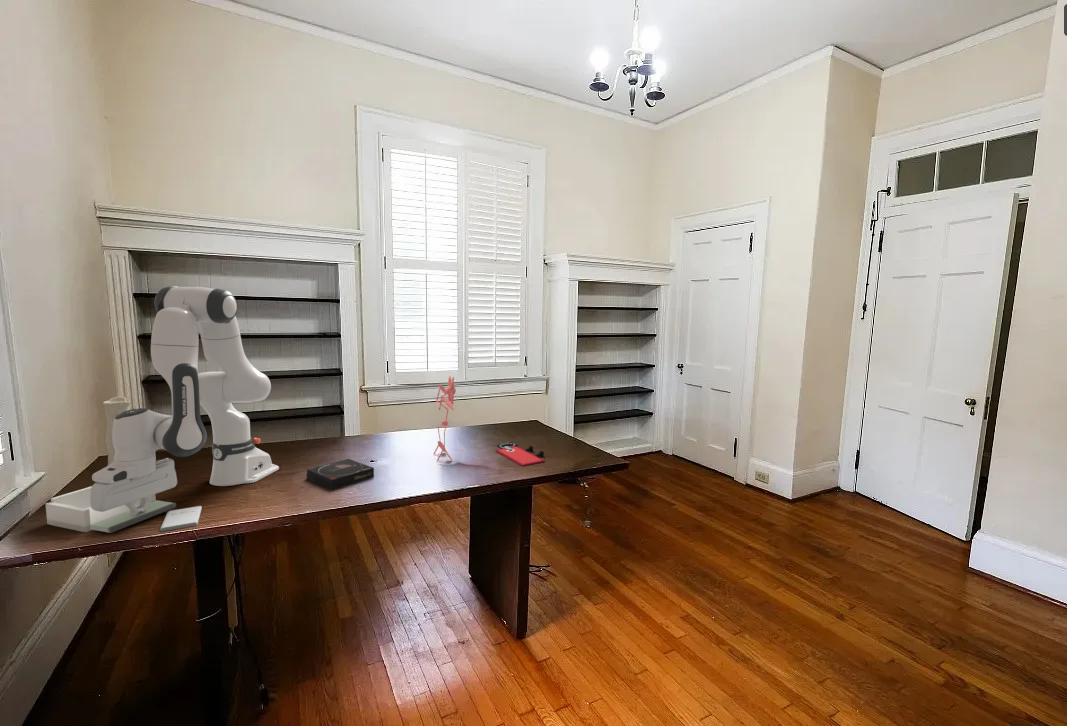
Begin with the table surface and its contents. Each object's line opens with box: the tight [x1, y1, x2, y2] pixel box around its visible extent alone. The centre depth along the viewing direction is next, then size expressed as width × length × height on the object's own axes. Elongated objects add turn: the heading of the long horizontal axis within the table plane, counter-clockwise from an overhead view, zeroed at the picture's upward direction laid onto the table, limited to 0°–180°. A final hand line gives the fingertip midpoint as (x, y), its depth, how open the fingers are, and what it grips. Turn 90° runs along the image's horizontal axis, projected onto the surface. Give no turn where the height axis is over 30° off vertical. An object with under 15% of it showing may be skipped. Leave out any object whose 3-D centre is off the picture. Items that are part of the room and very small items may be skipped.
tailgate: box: [90, 499, 177, 534], centre depth 130 cm, size 17×1×8 cm
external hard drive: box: [159, 505, 202, 532], centre depth 132 cm, size 2×8×12 cm
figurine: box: [433, 375, 468, 466], centre depth 195 cm, size 15×26×35 cm, turn 22°
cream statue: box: [102, 396, 133, 466], centre depth 156 cm, size 9×8×30 cm
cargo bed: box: [45, 485, 157, 533], centre depth 133 cm, size 18×15×7 cm
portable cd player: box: [306, 458, 375, 491], centre depth 168 cm, size 16×17×4 cm
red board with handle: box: [495, 441, 545, 467], centre depth 203 cm, size 30×3×15 cm
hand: (138, 513), depth 130 cm, fingers closed
